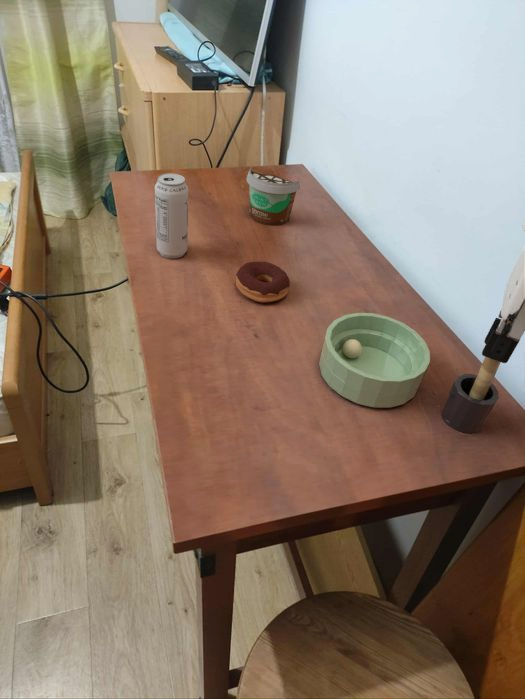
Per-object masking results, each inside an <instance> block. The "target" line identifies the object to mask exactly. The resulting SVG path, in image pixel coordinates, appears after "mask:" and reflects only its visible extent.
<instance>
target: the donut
mask: <svg viewBox="0 0 525 699" xmlns="http://www.w3.org/2000/svg"><path fill="white" fill-rule="evenodd" d="M235 278H236V279H235V285H236V288H237V289H238V290H239V292H240V293H241V294H242V295H243V296H245V297H246V298H247V299H250V300H252V301H254V302H257V303H262V304H263V303H272V302H277V301H279V300H281V299H283V298H284V297H285V296H287V294H288V293H289V289H290V286H291V281H290V277H289V275H288V274H287V272H286V271H285V270H284V269H282V268H281V267H280V266H278V265H275V264H273V263H271V262H268V261H249V262H246V263H244V264H243V265H241V266H240V267H239V269H238V270H237V272H236V274H235Z"/></svg>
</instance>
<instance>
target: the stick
mask: <svg viewBox="0 0 525 699" xmlns="http://www.w3.org/2000/svg"><path fill="white" fill-rule="evenodd" d="M500 319H501V320H502V318H500ZM500 322H501V321H500ZM512 323H513V322H511V321H507V323H506V325H507V324H511V325H512ZM501 363H502V362H499V361H496V360H493V359H491V358H488V357H485V356H484V359H483V361H482V363H481V366H480V368H479V370H478V372H477V374H476V375H477V377H476V380H475V382H474V384H473V387H472V389H471V391H470V394H469V396H470V397H472V398H474V399H477V400H484V398H485V396H486V393H487V391H488V389H489V387H490V385H491V383H492V382H493V380H494V378H495V376H496V374H497V371H498V369H499V367H500V365H501ZM492 384H493V383H492Z"/></svg>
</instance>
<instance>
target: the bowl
mask: <svg viewBox="0 0 525 699" xmlns="http://www.w3.org/2000/svg"><path fill="white" fill-rule="evenodd" d="M350 339H354V340H357V341H358V342H359V343H360V344H361V346H362V351H361V354H360V355H359V356H358V357H356V358H349V357H347V356H346V355H345V354H344V352H343V345H344V343H345V342H346V341H348V340H350ZM430 363H431V351H430V348H429V347H428V344H427V342H426V341H425V340H424V339H423V337H422V336H421V335H420V334H419V333H418V332H417V331H416V330H415V329H413V328H412V327H411V326H408V325H407V324H405V323H404V322H402V321H399V320H397V319H396V318H392V317H390V316H388V315H384V314H383V315H382V314H378V313H374V312H355V313H349V314H344V315H342V316H340V317H338V318H336V319H334V320H333V321H332V322H331V324H330V325H329V326H327V328H326V333H325V336H324V341H323V345H322V349H321V353H320V357H319V362H318V367H319V370H320V374H321V376H322V378H323V379H324V381H325V382H326V384H327V385H328V387H330V388H331V389H332V390H333V391H335V392H336V393H337V394H338V395H339V396H341V397H342V398H345V399H347V400H348V401H351V402H353V403H355V404H357V405H362V406H365V407H369V408H388V409H389V408H394V407H398V406H401V405H405V404H406V403H407V402H409V401H410V400H411V399H413V398H414V397H415V396H416V394H417V392H418V390H419V389H420V386H421V384H422V382H423V379H424V377H425V375H426V373H427V370H428V368H429V366H430Z"/></svg>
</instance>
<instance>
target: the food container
mask: <svg viewBox="0 0 525 699" xmlns="http://www.w3.org/2000/svg"><path fill="white" fill-rule="evenodd" d="M246 182H247V184H248V185H249V216H250V218H251V219H252V220H253V221H254V222H256V223H259V224H261V225H266V226H280V225H284V224H286V223H287V222H289V221H290V217H291V213H292V210H293V206H294V202H295V198H296V195H297V192H298V191H299V190H301V182H300V179H297V180H295V181H290V180H288V179H284V178H283V177H281V176H277V175H274V174H264V173H260V172H255V171H253V166H251V167H250V168H249V170H248V172H247V175H246Z"/></svg>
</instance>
